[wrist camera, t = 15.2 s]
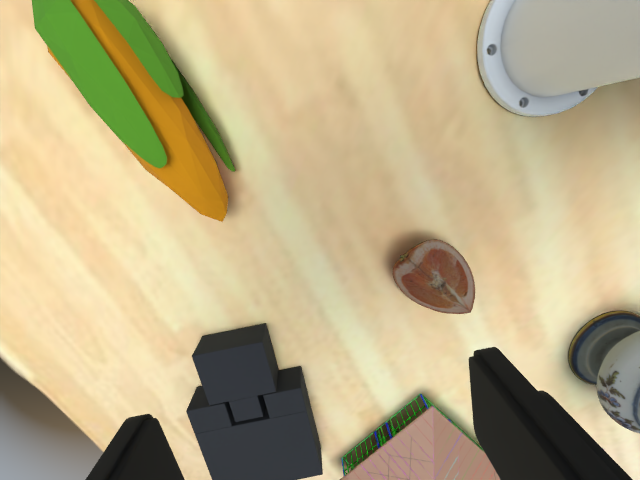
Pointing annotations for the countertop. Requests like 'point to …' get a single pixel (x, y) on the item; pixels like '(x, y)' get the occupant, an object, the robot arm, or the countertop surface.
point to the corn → (137, 94)
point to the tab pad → (238, 369)
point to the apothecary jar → (611, 364)
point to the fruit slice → (436, 277)
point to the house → (423, 452)
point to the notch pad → (260, 435)
